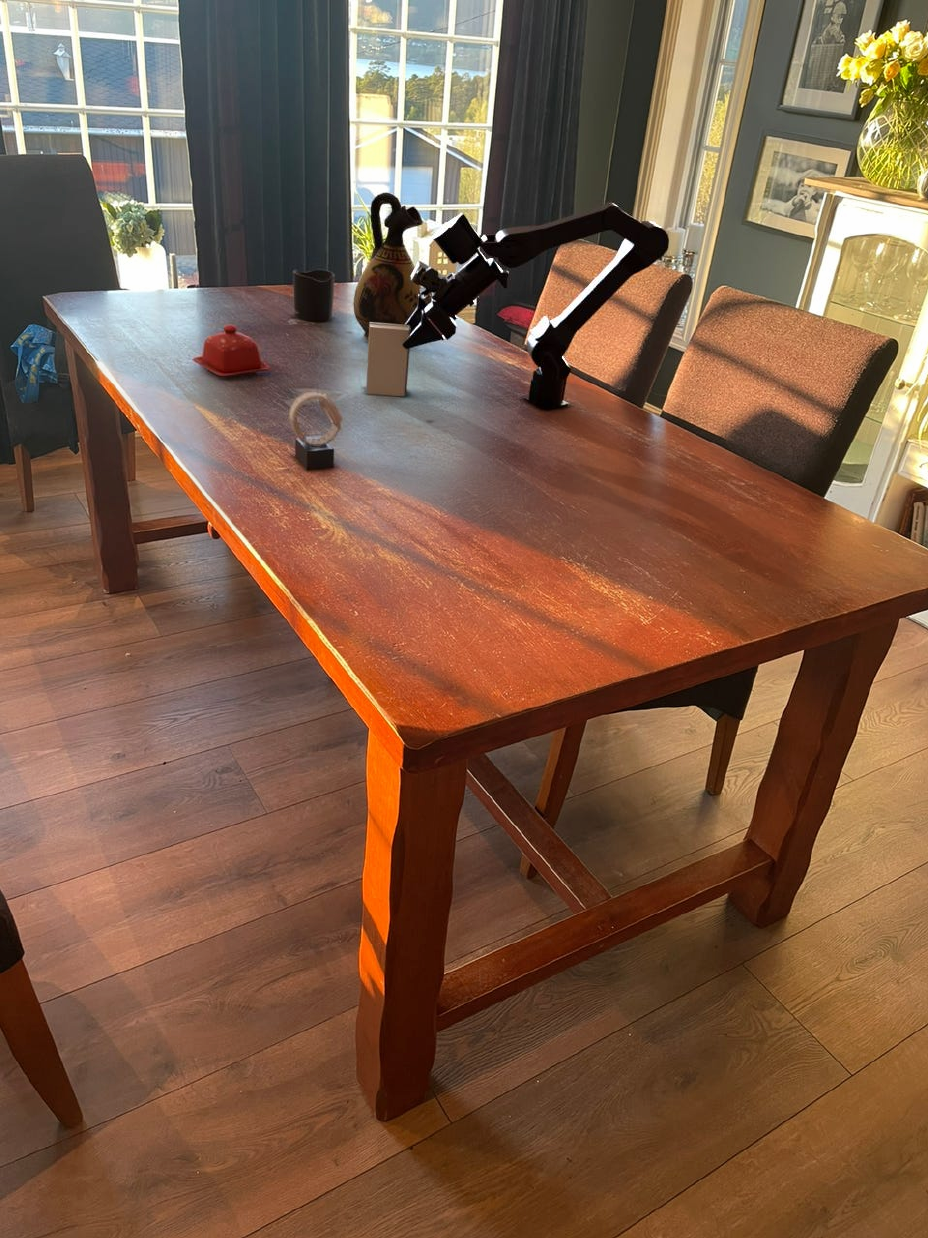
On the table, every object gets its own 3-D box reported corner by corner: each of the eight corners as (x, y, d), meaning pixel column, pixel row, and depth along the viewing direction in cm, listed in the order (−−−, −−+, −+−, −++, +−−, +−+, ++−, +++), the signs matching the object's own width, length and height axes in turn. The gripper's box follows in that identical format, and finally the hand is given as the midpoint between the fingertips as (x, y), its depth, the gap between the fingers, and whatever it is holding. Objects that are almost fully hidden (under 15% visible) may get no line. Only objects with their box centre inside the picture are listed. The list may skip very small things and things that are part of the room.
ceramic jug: (434, 342, 212) (447, 199, 196) (394, 355, 200) (404, 203, 185) (374, 325, 219) (381, 186, 203) (332, 336, 207) (336, 189, 192)
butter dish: (219, 382, 174) (217, 336, 169) (189, 364, 181) (187, 319, 176) (273, 374, 181) (273, 330, 176) (242, 357, 188) (241, 314, 183)
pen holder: (299, 309, 224) (299, 266, 219) (337, 315, 223) (339, 271, 218) (287, 319, 216) (287, 273, 211) (327, 324, 215) (328, 279, 210)
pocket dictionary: (405, 390, 181) (409, 325, 174) (406, 396, 178) (410, 330, 171) (366, 387, 180) (369, 321, 173) (366, 393, 177) (369, 326, 170)
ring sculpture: (345, 466, 146) (348, 398, 141) (295, 471, 143) (296, 401, 137) (332, 453, 150) (334, 386, 145) (284, 457, 147) (284, 388, 141)
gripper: (436, 237, 174) (373, 293, 178) (443, 258, 158) (374, 319, 162) (473, 285, 179) (411, 338, 183) (484, 310, 163) (416, 367, 168)
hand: (402, 339), depth 174 cm, fingers open, 9 cm apart
